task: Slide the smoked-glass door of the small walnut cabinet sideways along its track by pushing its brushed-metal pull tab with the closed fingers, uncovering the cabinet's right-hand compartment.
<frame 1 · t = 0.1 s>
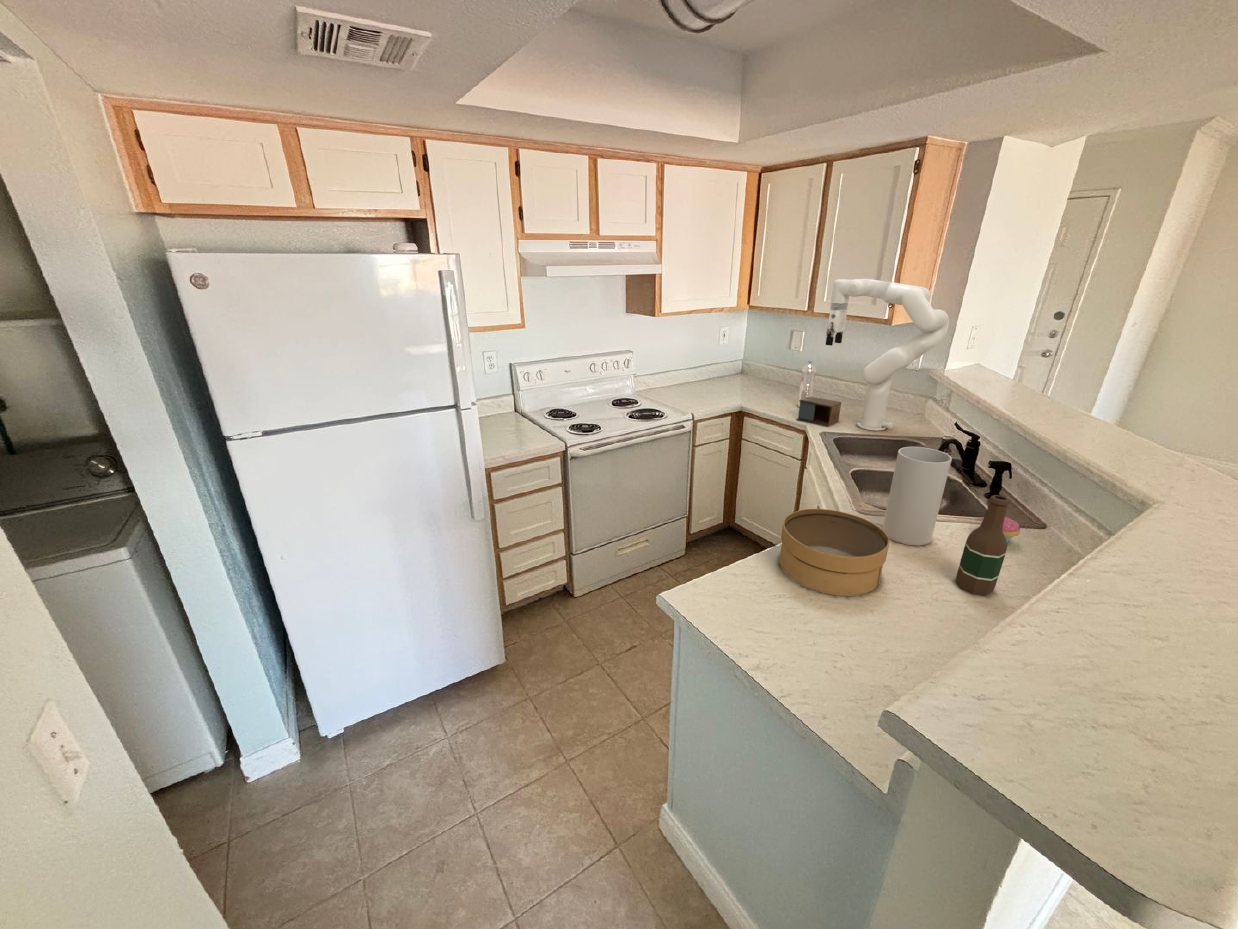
hand: (833, 344, 242), 37 cm above the counter, tool pointing down, fingers open, 9 cm apart
cylinder vase: (905, 536, 144), on the counter
water bottle: (804, 407, 274), on the counter
cupcake: (996, 541, 141), on the counter
steamer basket: (828, 569, 129), on the counter
glass door: (807, 405, 247), point 8 cm above the counter, slide at 0.0 cm
cabinet: (818, 420, 250), on the counter
beer bottle: (973, 587, 121), on the counter
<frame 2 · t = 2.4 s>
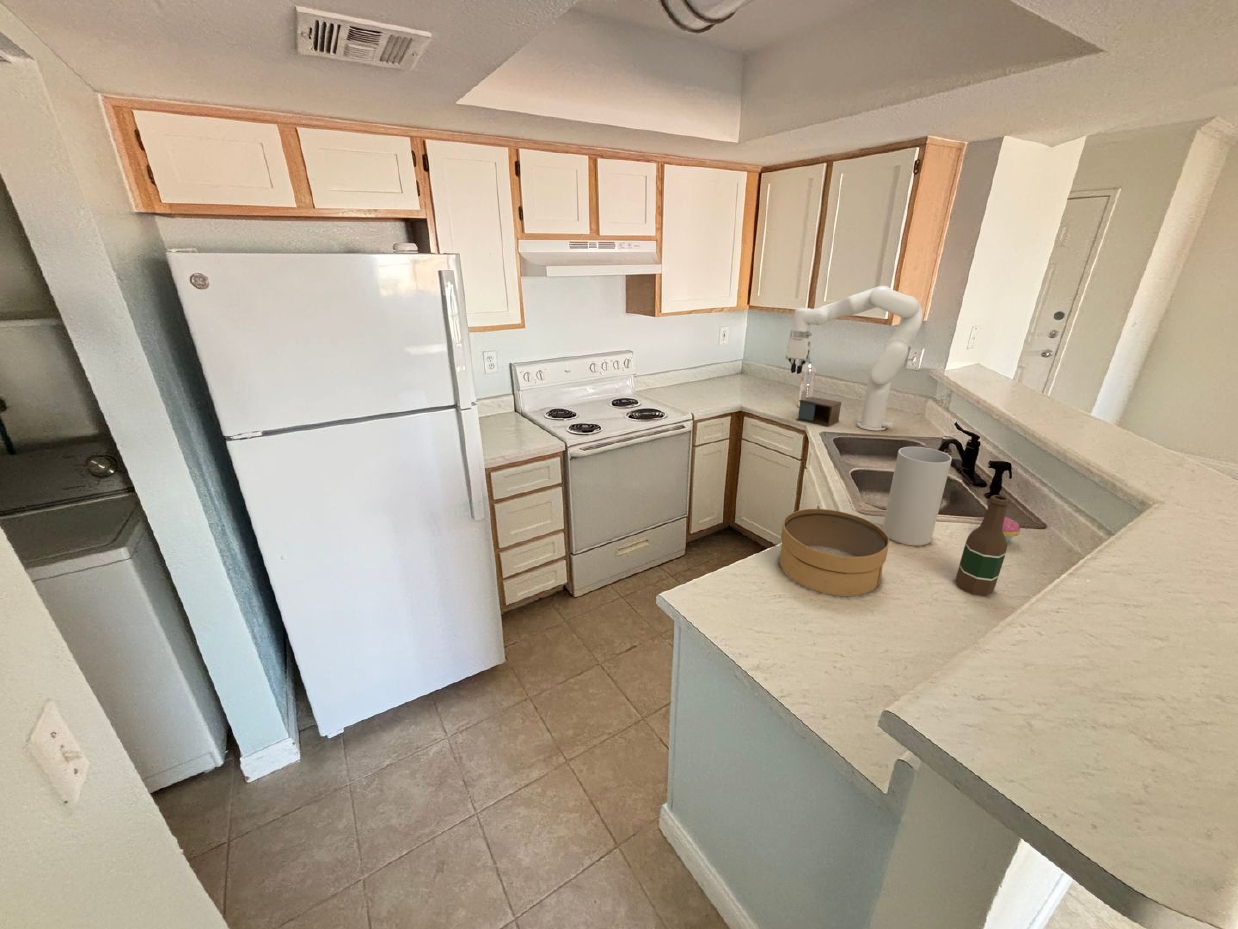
hand: (796, 372, 246), 23 cm above the counter, tool pointing down, fingers closed
nothing on the counter moved.
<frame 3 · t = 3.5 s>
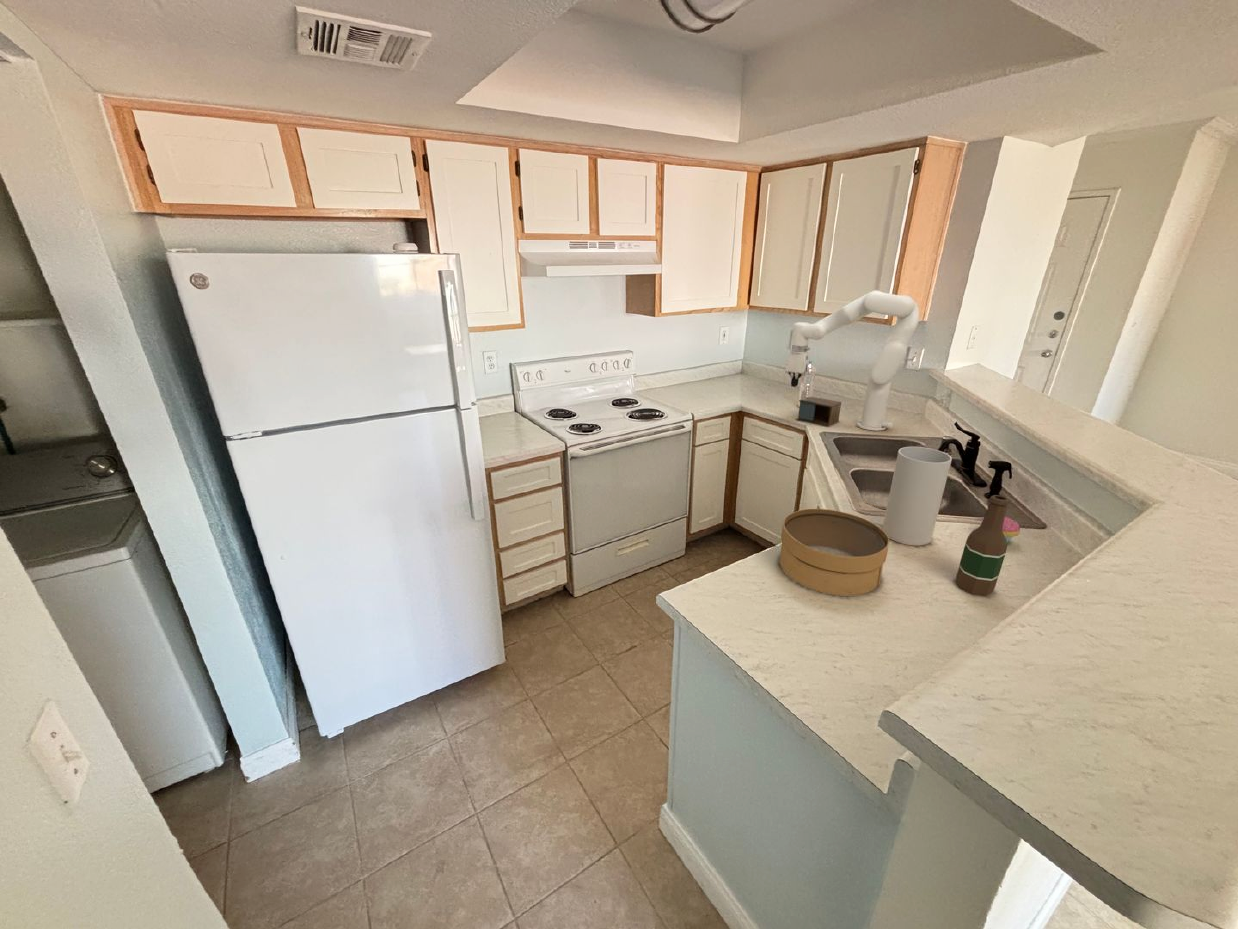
hand: (794, 386, 249), 16 cm above the counter, tool pointing down, fingers closed
nothing on the counter moved.
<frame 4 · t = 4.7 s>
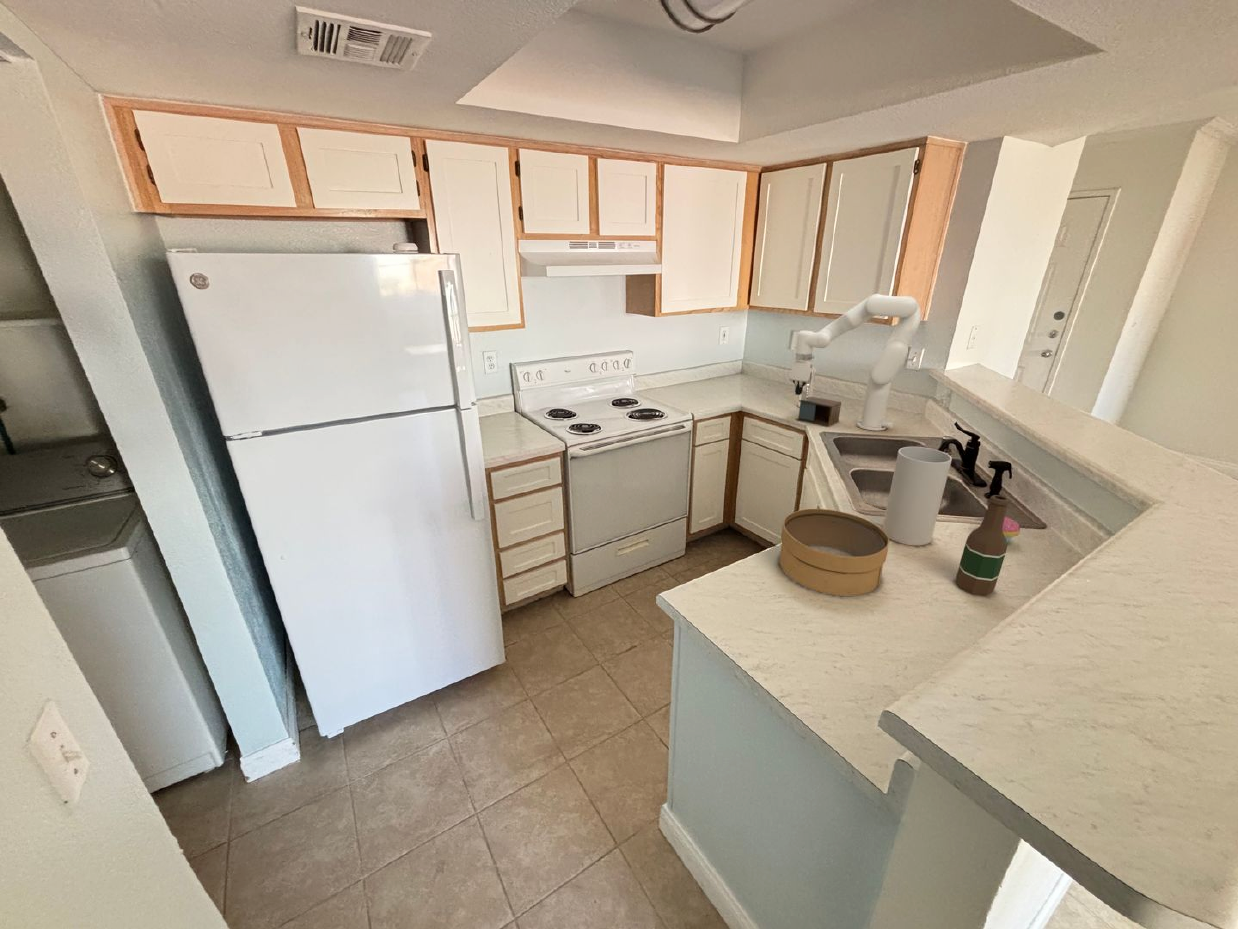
hand: (798, 394, 248), 13 cm above the counter, tool pointing down, fingers closed
glass door: (807, 405, 246), point 8 cm above the counter, slide at 0.2 cm, touching gripper
everything else where it was.
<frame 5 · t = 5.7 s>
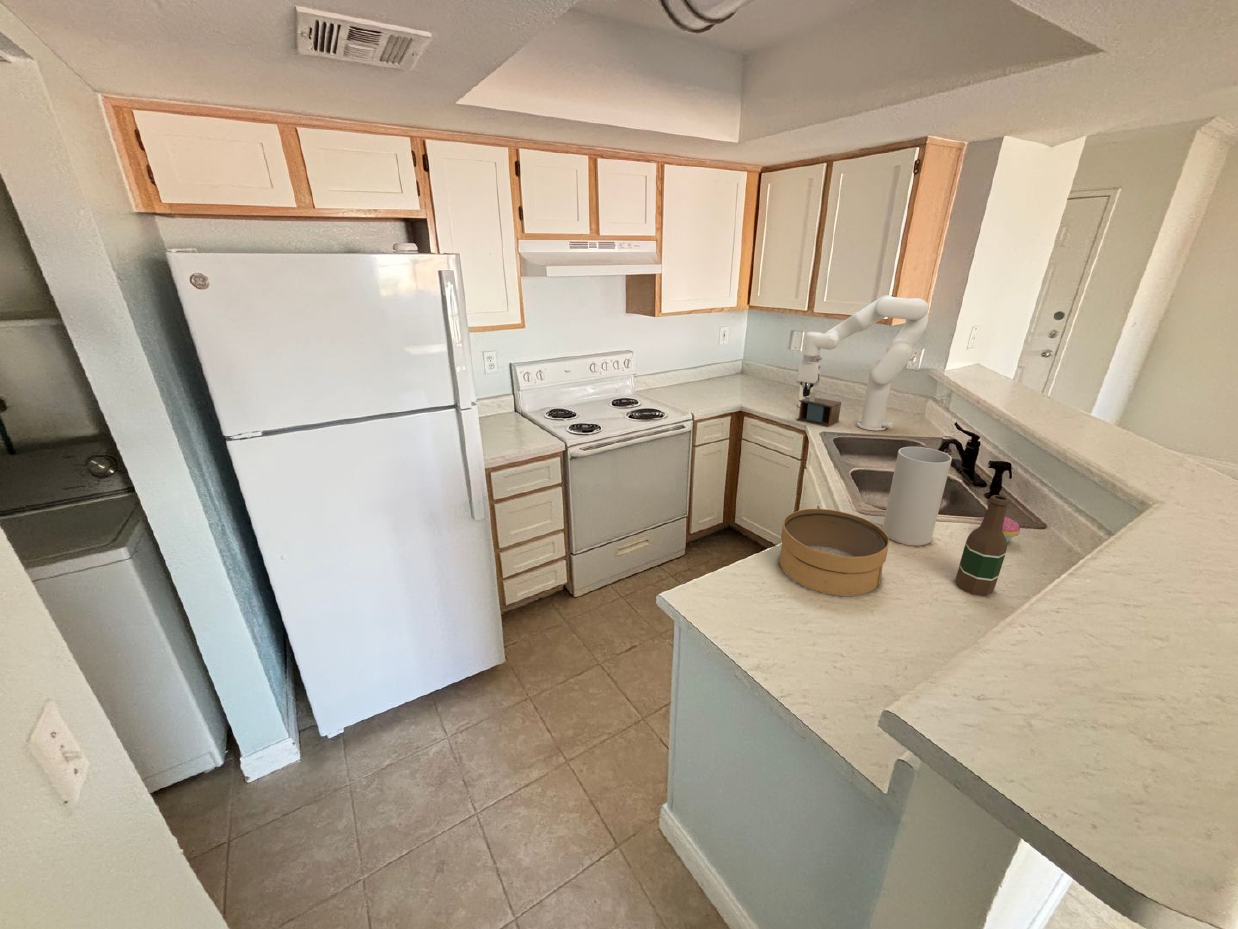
hand: (805, 396, 246), 13 cm above the counter, tool pointing down, fingers closed
glass door: (815, 407, 244), point 8 cm above the counter, slide at 4.3 cm, touching gripper
everything else where it was.
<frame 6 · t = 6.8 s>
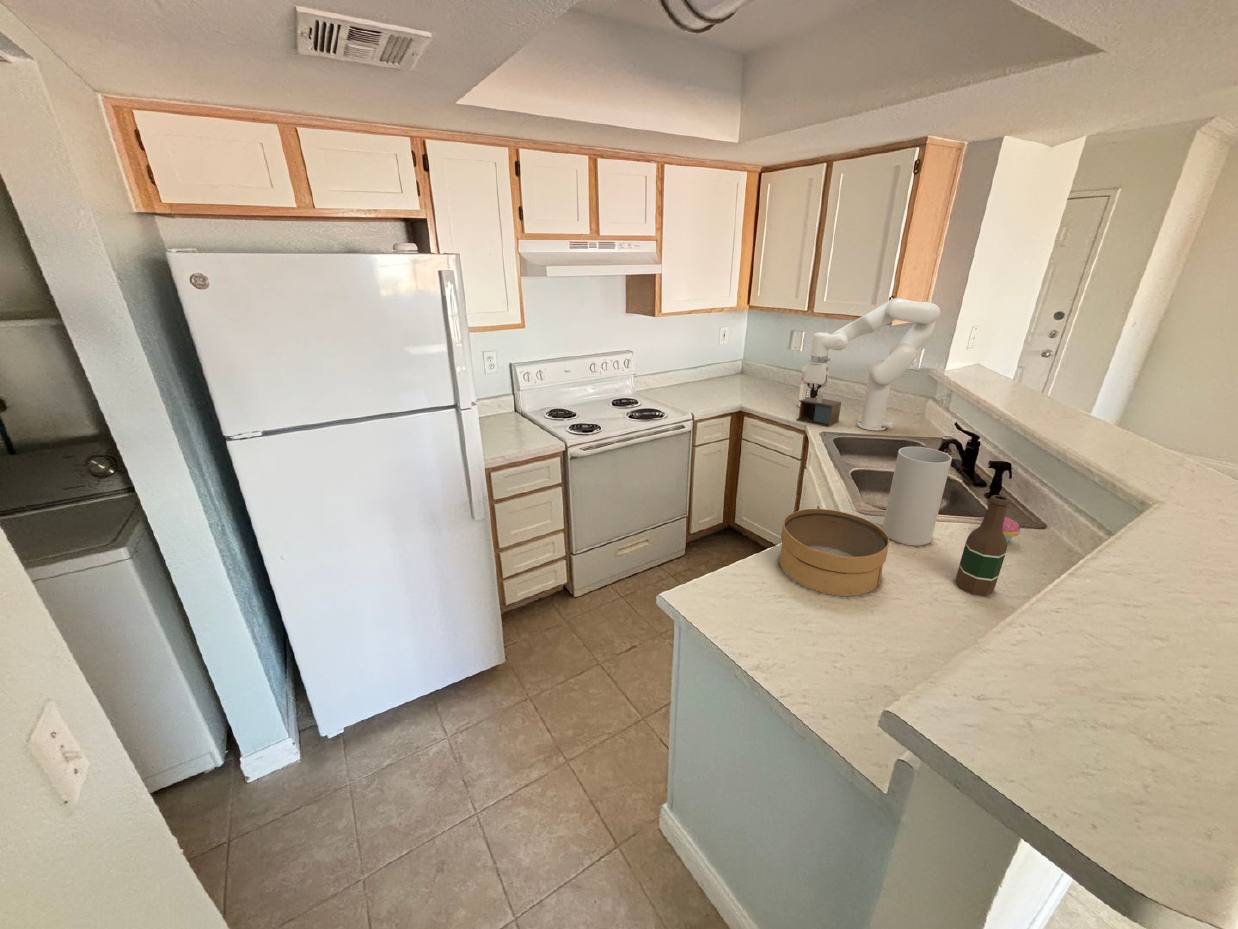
hand: (813, 397, 243), 13 cm above the counter, tool pointing down, fingers closed
glass door: (823, 408, 241), point 8 cm above the counter, slide at 8.0 cm, touching gripper
everything else where it was.
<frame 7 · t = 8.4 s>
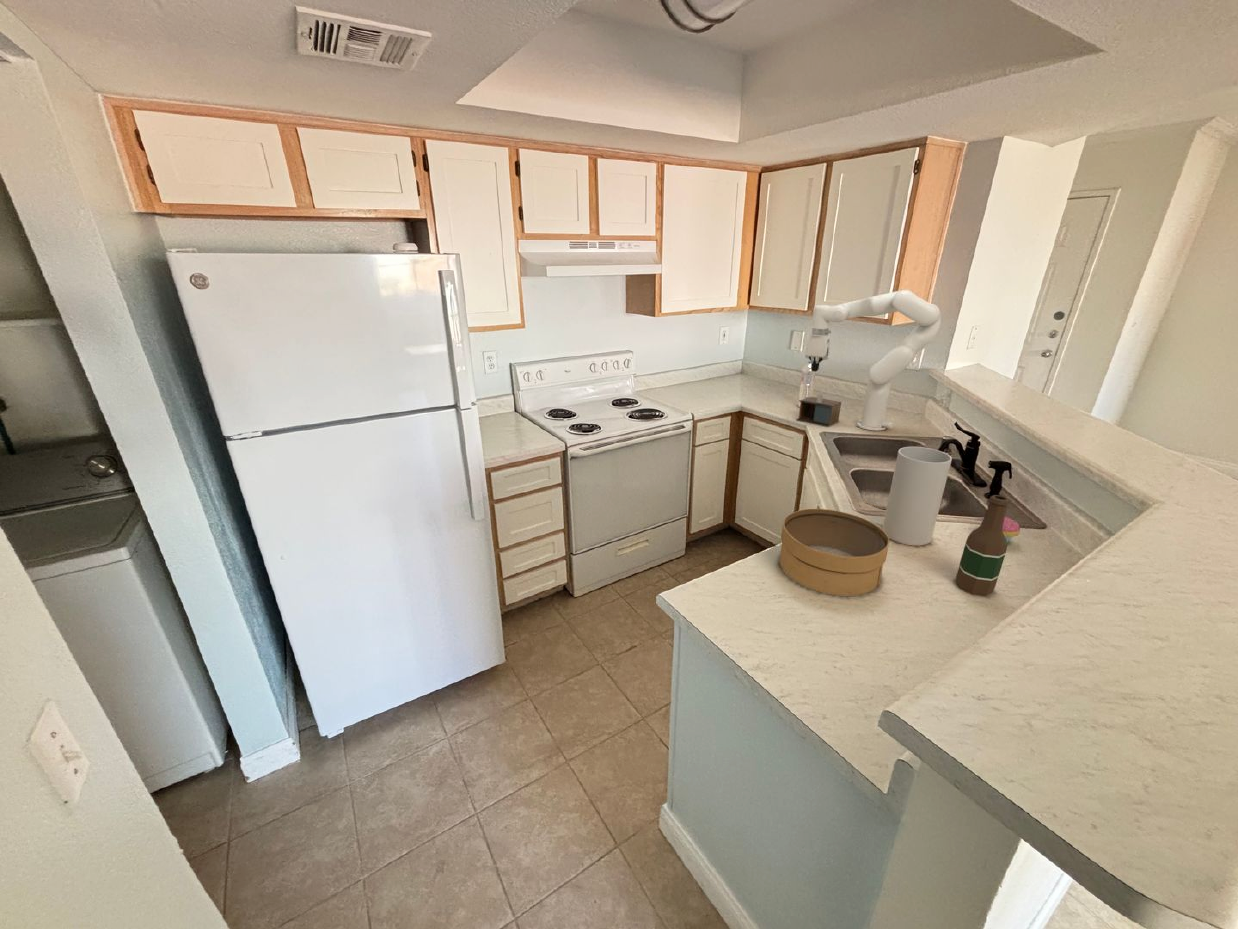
hand: (814, 370, 244), 24 cm above the counter, tool pointing down, fingers closed
glass door: (823, 408, 241), point 8 cm above the counter, slide at 8.0 cm
everything else where it was.
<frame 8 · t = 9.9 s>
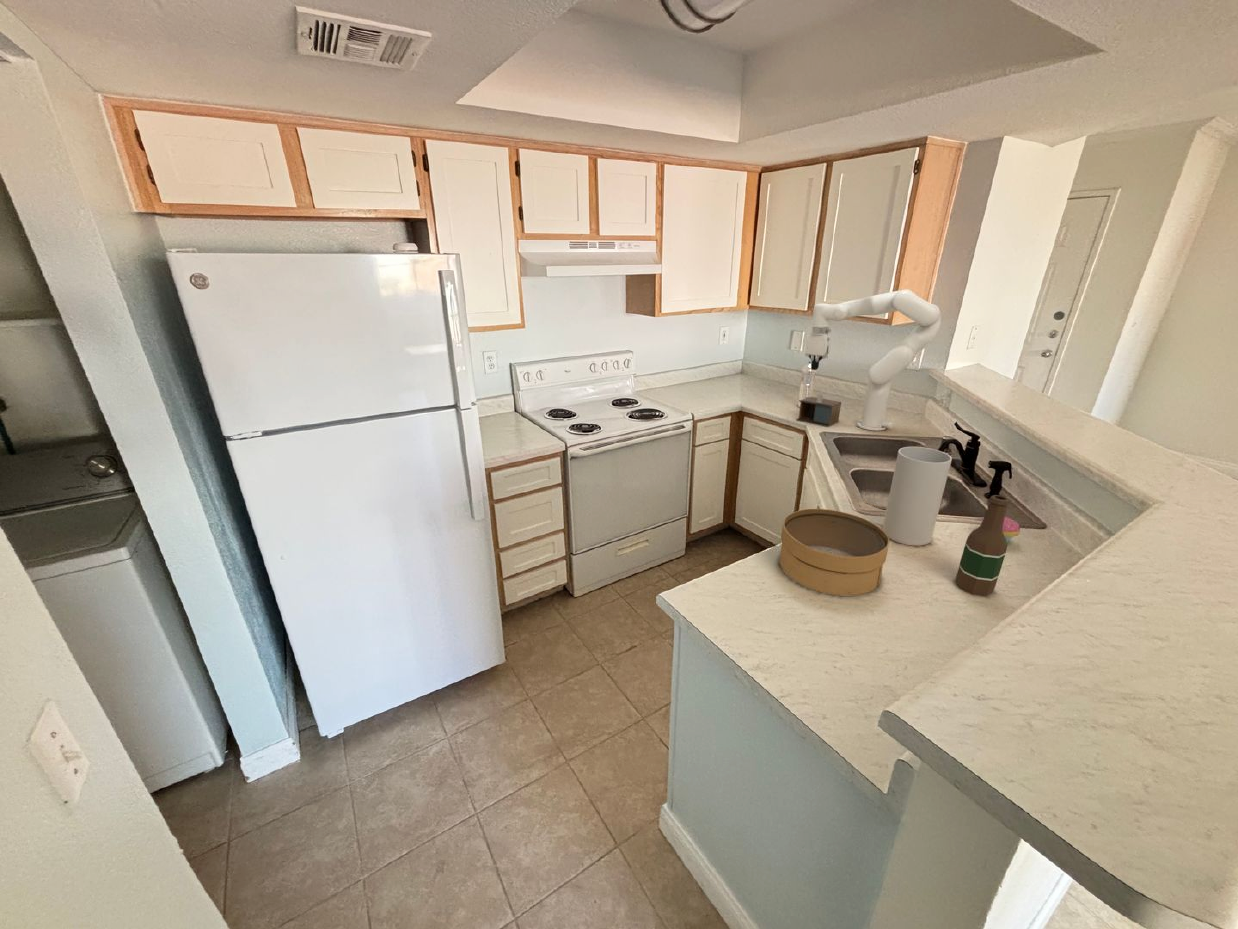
hand: (814, 369, 244), 25 cm above the counter, tool pointing down, fingers closed
nothing on the counter moved.
at the end: glass door slide at 8.0 cm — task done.
